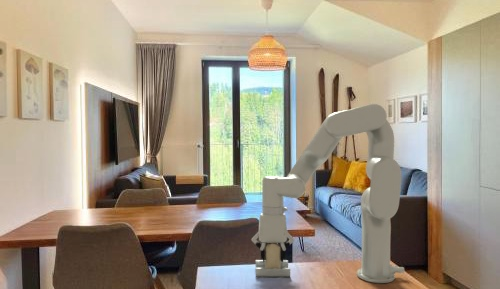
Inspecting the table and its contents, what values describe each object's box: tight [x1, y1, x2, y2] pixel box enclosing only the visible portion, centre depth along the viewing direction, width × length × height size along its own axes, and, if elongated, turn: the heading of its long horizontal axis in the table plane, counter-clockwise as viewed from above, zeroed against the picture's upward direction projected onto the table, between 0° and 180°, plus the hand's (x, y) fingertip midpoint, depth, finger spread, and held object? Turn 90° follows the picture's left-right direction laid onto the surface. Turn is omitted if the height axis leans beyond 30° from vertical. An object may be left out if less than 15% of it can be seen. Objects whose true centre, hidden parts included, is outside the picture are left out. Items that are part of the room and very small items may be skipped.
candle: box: [264, 243, 281, 268], centre depth 136 cm, size 6×6×10 cm
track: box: [255, 259, 291, 279], centre depth 136 cm, size 12×9×3 cm
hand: (272, 260), depth 136 cm, fingers open, 5 cm apart
